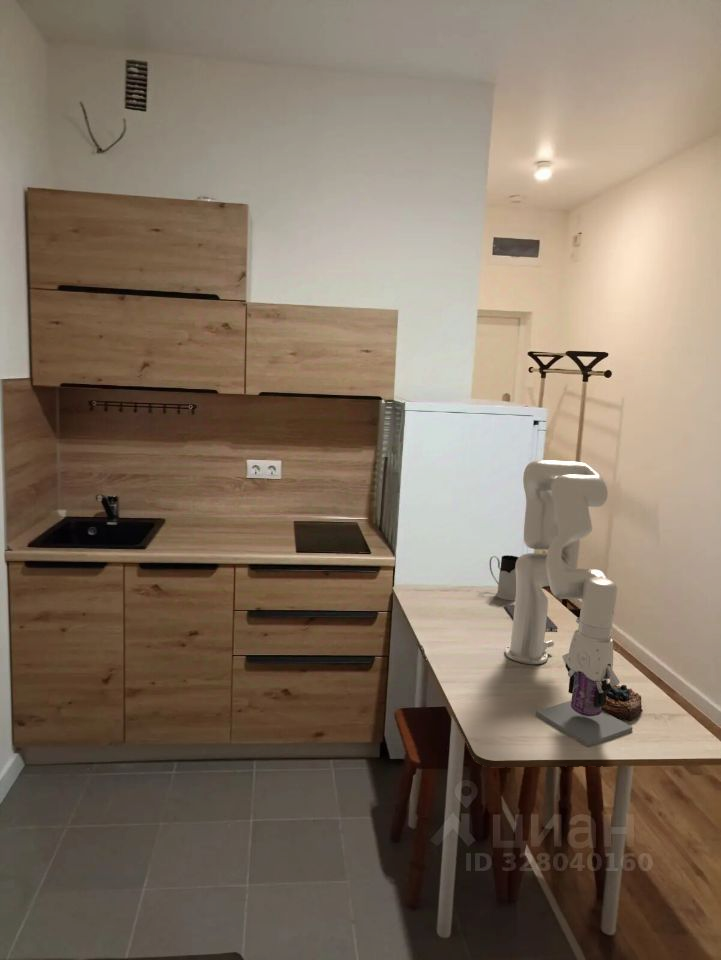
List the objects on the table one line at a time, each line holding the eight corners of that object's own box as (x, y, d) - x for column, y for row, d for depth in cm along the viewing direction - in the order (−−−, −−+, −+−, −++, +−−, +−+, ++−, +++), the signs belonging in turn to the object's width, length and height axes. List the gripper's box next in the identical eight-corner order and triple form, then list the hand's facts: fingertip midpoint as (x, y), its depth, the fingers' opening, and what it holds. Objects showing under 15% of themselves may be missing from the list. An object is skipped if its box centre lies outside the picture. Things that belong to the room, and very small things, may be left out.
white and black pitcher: (510, 601, 251) (514, 562, 249) (480, 590, 262) (483, 553, 259) (524, 597, 257) (528, 559, 255) (494, 587, 268) (497, 550, 265)
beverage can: (577, 701, 170) (582, 656, 168) (605, 711, 166) (611, 665, 164) (565, 711, 165) (571, 664, 163) (594, 722, 161) (600, 674, 159)
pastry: (645, 708, 175) (648, 687, 174) (630, 726, 166) (633, 703, 165) (603, 694, 182) (606, 673, 181) (586, 709, 173) (589, 688, 172)
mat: (579, 701, 177) (579, 697, 176) (632, 731, 163) (632, 727, 163) (535, 714, 168) (536, 711, 168) (587, 747, 155) (588, 743, 155)
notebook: (503, 608, 245) (520, 631, 224) (504, 604, 245) (521, 626, 224) (538, 610, 246) (558, 632, 225) (538, 605, 246) (558, 628, 225)
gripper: (556, 619, 167) (548, 686, 170) (615, 645, 153) (605, 719, 155) (576, 615, 171) (568, 681, 174) (636, 640, 157) (626, 712, 159)
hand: (586, 698), depth 165 cm, fingers closed on beverage can, 7 cm apart
